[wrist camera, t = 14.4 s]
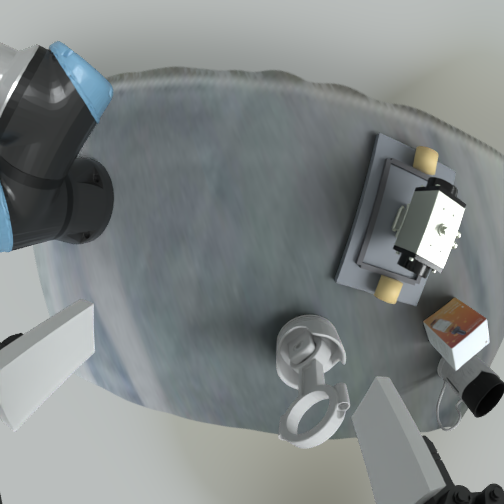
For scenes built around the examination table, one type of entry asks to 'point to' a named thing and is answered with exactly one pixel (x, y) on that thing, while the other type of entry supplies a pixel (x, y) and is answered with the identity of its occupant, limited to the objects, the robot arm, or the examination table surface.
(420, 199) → the pneumatic valve
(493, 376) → the glass holder
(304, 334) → the engine component
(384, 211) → the mounting plate
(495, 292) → the examination table surface
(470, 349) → the small box
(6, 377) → the robot arm
